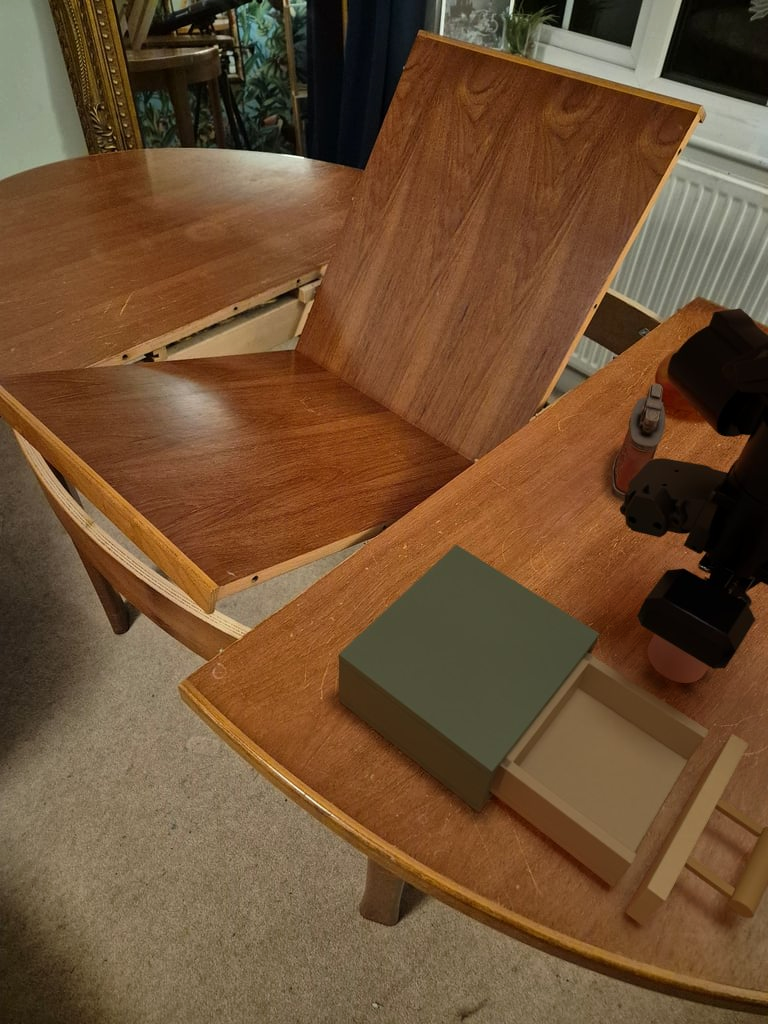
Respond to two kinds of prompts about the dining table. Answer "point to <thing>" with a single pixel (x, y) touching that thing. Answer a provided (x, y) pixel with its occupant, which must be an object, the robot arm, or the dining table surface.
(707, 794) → the drawer
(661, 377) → the fruit
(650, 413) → the brown elongated piece
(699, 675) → the red cylinder
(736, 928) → the dining table surface
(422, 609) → the cabinet
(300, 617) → the dining table surface
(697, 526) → the robot arm
